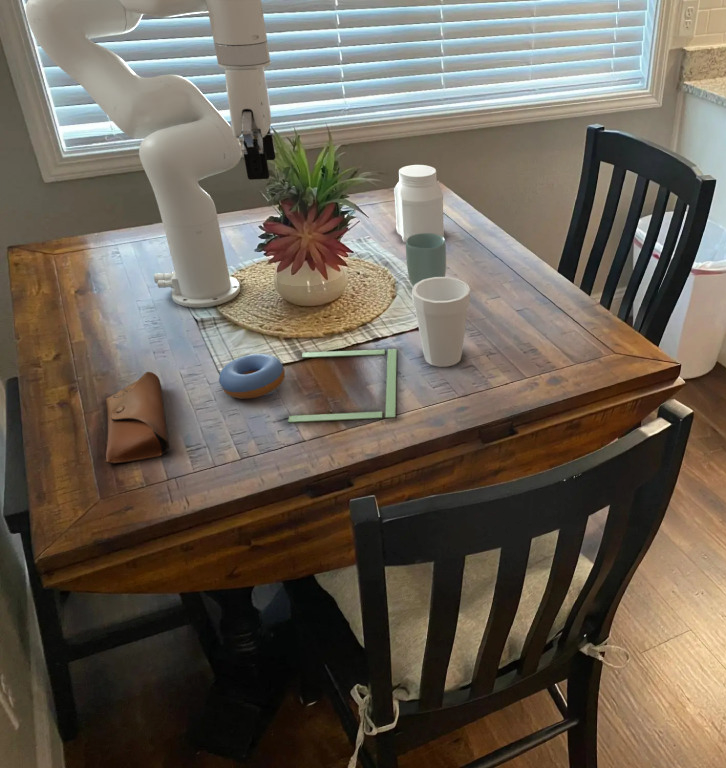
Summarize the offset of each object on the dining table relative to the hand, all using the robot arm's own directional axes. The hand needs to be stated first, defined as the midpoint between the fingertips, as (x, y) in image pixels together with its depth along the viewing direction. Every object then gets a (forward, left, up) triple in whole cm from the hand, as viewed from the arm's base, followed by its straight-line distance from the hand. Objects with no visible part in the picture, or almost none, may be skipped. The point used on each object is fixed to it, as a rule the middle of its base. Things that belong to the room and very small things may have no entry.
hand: (262, 168), depth 121 cm
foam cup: (+28, -13, -29) cm, 42 cm away
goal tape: (+11, -20, -29) cm, 37 cm away
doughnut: (-3, -20, -29) cm, 35 cm away
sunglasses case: (-18, -28, -29) cm, 45 cm away
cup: (+26, +14, -29) cm, 42 cm away
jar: (+25, +41, -29) cm, 56 cm away
